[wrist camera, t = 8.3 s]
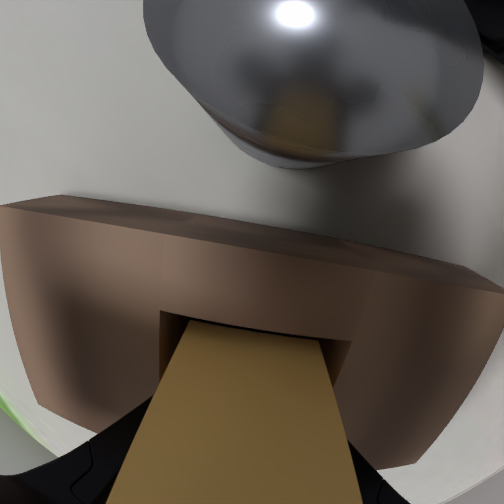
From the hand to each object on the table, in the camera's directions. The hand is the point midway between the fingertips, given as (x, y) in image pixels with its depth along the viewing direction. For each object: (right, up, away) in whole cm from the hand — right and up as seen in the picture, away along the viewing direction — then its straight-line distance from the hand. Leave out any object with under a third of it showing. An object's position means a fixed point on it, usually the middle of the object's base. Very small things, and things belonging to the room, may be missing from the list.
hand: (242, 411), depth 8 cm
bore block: (0, +1, +4) cm, 5 cm away
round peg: (+2, +11, +2) cm, 12 cm away
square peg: (0, 0, +2) cm, 2 cm away
